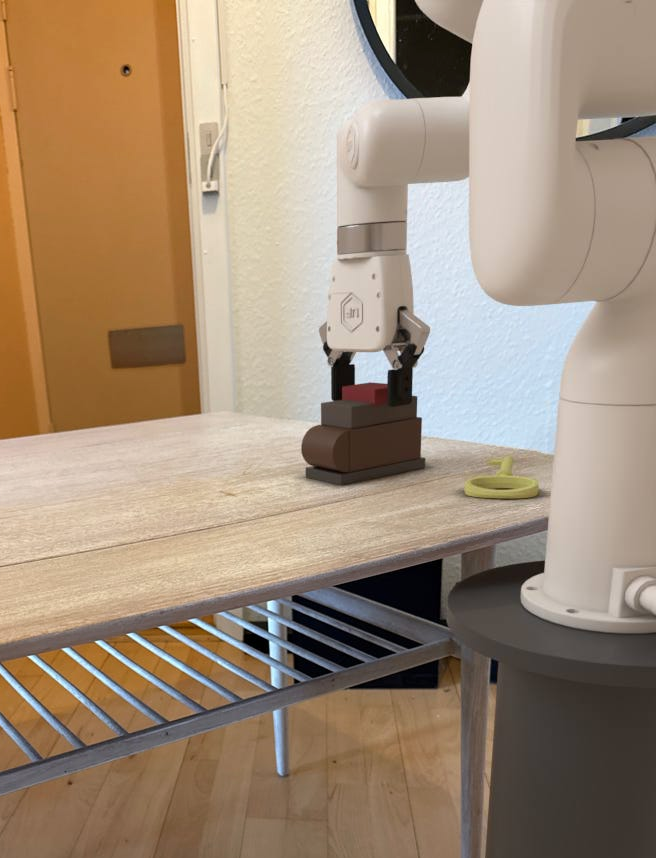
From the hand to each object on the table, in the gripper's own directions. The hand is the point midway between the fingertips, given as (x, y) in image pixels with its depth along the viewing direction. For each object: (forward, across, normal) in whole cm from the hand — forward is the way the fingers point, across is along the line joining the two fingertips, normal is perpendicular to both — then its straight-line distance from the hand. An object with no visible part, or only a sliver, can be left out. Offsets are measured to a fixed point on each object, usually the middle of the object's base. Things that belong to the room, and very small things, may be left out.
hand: (370, 402), depth 107 cm
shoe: (+8, 0, 0) cm, 8 cm away
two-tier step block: (+2, 0, 0) cm, 2 cm away
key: (+8, +16, +4) cm, 19 cm away
